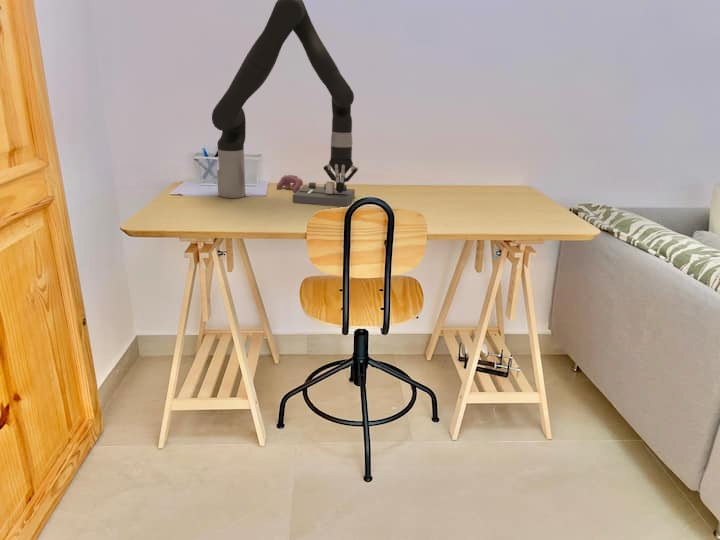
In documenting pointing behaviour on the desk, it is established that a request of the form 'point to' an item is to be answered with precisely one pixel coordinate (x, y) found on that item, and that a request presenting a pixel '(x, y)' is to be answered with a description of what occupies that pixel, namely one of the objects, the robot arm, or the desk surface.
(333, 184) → the fader knob
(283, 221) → the desk surface
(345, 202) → the console
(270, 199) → the desk surface
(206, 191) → the desk surface
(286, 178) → the maroon arched lump
